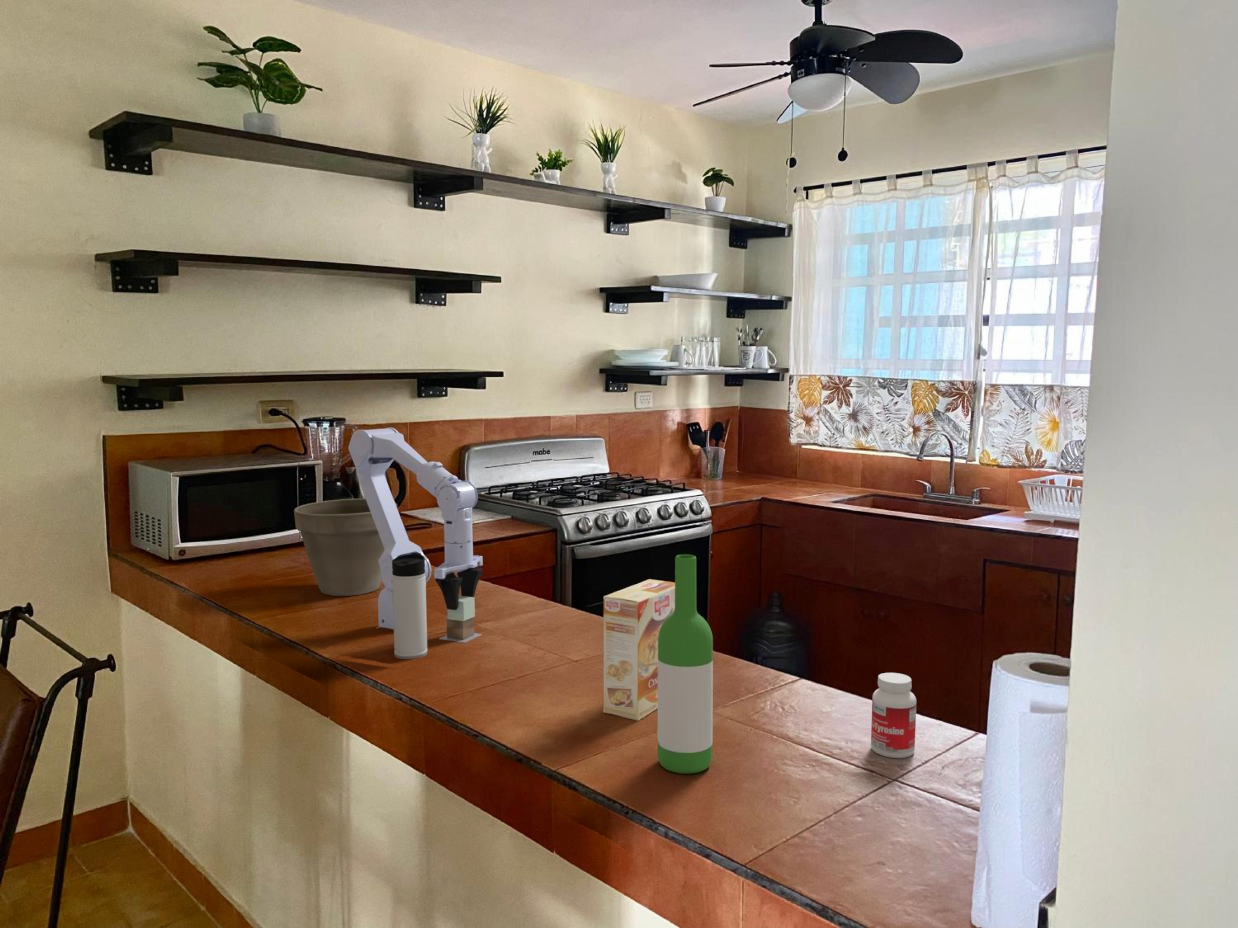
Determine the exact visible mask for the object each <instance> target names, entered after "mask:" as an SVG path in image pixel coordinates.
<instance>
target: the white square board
mask: <svg viewBox="0 0 1238 928" xmlns="http://www.w3.org/2000/svg"><path fill="white" fill-rule="evenodd" d="M482 635H483V633H476V632H474V635H473V636H471V637H469V638H467V639H465V640H459V639H452V638H447V634H446V635H444V636H442V637H440V638H438V640H442V641H443V640H444V641H450V642H458V643H464V644H465V643H467V642H469V641H472V640H474V639H475V638H479V637H480V636H482Z"/></svg>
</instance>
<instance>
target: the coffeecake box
mask: <svg viewBox="0 0 1238 928" xmlns="http://www.w3.org/2000/svg"><path fill="white" fill-rule="evenodd" d="M674 610H675V581H674V582H673V581H665V580H658V579H651V578H649V579H646V580H643V581H641V582H639V583H637V584H633V585H630V586H627V587H625V588H623V589H620V590H617V591H614V592H612V593H609V594H607V595H604V596H603V713H605V714H608V715H614V716H618V717H621V718H626V719H629V720H634V721H640V720H642V719H643V718H645V717H646V716H648V715H650V714H651V713H653V712H654V711H656V710H658V636H659V632H660V628H661V626H662V624H663V623H664V621H665V620H666V619H667V618H668V617H669V616H670V615H672V614H673V613H674Z"/></svg>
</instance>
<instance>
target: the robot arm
mask: <svg viewBox="0 0 1238 928" xmlns="http://www.w3.org/2000/svg"><path fill="white" fill-rule="evenodd" d="M347 449H348V451H349V454H350V456H351V457H350V458H351V459H352V461H353V464H354V466H355V472H356V476H357V480H358V482H359V485H360V487H361V490H362V493H363V495H364V499H366V501H367V504H368V506H369V509H370V512H371V514H372V517H373V520H374V522H375V525H376V528H377V530H378V533H379V535H380V538H381V541H382V543H383V546H384V549H385V550H384V552H383V554H382V555H381V557H380V558H379V560H378V562H379V565H380V569H381V579H382V580H381V583H383V586H384V588H382V589H381V591H380V592H379V594H378V599H377V612H378V613H377V614H378V616H377V617H378V626H377V627H376V629H378V628H385V629H391V630H394V621H393V588H392V578H393V577H392V571H393V569H392V560H393V559H395V558H397V557H399V556H403V555H411V554H412V553H421V555H422V556H424V557H425V568H424V569H425V578H426V582H428V581H429V579H431V575H432V565H431V563H430V560H429V558H427V556H426V555H425V554H424V552H423V550H422V548H421V546H420V545H418V544H416V543H414V542H412V541H410V539H409V536H408V534H407V531H406V528H405V526H404V524H403V520H402V519H401V518H402V517H401V516H400V513H399V510H398V506H397V507H396V505H395V503H396V502H395V499H394V497H393V495H392V492H391V490H390V486H389V484H388V482H387V478H386V476H385V475H386V471H387V470H388V468H390V466H391V464H392V463H393V462H394V461H396V462H397V463H399V464H400V465H402V466H403V467H405V468H406V469H407V470H409V471H411V472H412V473H413V474H415V475H416V482H417V483H418V485H420V486H421V487H422V488H424V490H426V492H427V491H428V493H430V495H432V496H434V497H435V499H436V503H437V505H438V507H439V509H440V511H441V518H442V520H443V533H444V535H443V536H444V537H443V538H444V539H443V540H444V562H442V563H441V564H440V565H438V567H436V568H434V569H433V576H434V577H433V578H434V580H435V583H436V584H437V585H438V587H439V588H440V591H441V593H442V596H443V600H444V603H445V606H446V610H447V609H449V610H457V608H458V599H459V596H466V597H475V595H476V594H475V593H476V590H477V586H478V584H479V582H480V579H481V577H482V575H483V573H484V570H483V568H482V567H481V566H483V565H484V563H483V562H484V561H483V560H484V559H483V556H482V555H475V554H474V544H473V543H474V542H473V540H474V539H473V534H474V533H473V508H474V507H475V506H476V505H477V503H478V500H479V499H478V498H479V494H478V490H477V487H476V486H475V485H474V484H473V483H472V481H470V480H461V479H459V477H457V476H456V474H455V475H453V474H452V473H450V472H449V471H448V470H446V468H444V467H443V463H441V462H440V461H429V462H428V461H427V460H426V459H425V458H424V457H423V456H422V455H420V454H419V453H418V452H417V451H416V450H415V449H414V448H413V447H412V446H411V445H410V444H409V443H407V442H406V441H405V438H404V434H402V433H400V432H399V431H398V430H397V429H396V428H394V427H386V428H376V429H375V428H374V429H373V428H372V429H357V430H355V431H354V432H353V433H352V436H351V438H350V441H349V445H348V448H347Z"/></svg>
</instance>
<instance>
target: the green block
mask: <svg viewBox="0 0 1238 928" xmlns="http://www.w3.org/2000/svg"><path fill="white" fill-rule="evenodd" d="M475 601H476V600H475V596H474V597H466V596H461V595H459V599H458V608H457V610H449V609H447V608H446V610H447V611H446V612H447V618H448V619H451V620H459V621H465V620H468V619H470V618H472V617H474V618H475V617H476V606H475V603H476V602H475Z"/></svg>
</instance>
